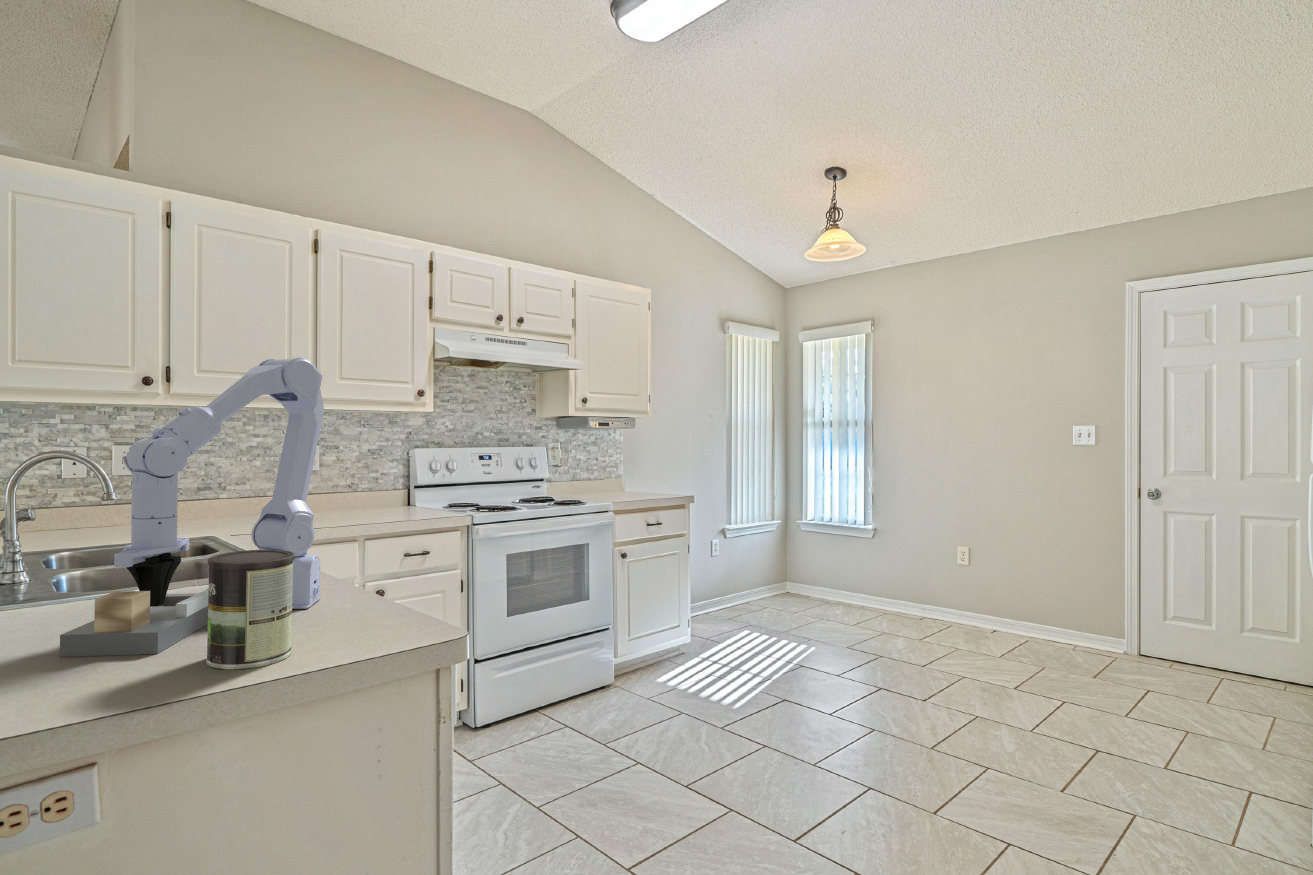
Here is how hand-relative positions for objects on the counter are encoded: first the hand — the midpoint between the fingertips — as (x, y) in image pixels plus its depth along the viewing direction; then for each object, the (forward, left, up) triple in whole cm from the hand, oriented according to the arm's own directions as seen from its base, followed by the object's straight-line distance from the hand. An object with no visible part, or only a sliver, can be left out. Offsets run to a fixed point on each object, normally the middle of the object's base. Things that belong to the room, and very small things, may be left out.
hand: (153, 605), depth 106 cm
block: (0, +8, -1) cm, 8 cm away
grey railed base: (0, -1, -4) cm, 4 cm away
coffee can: (-19, +14, -4) cm, 24 cm away
